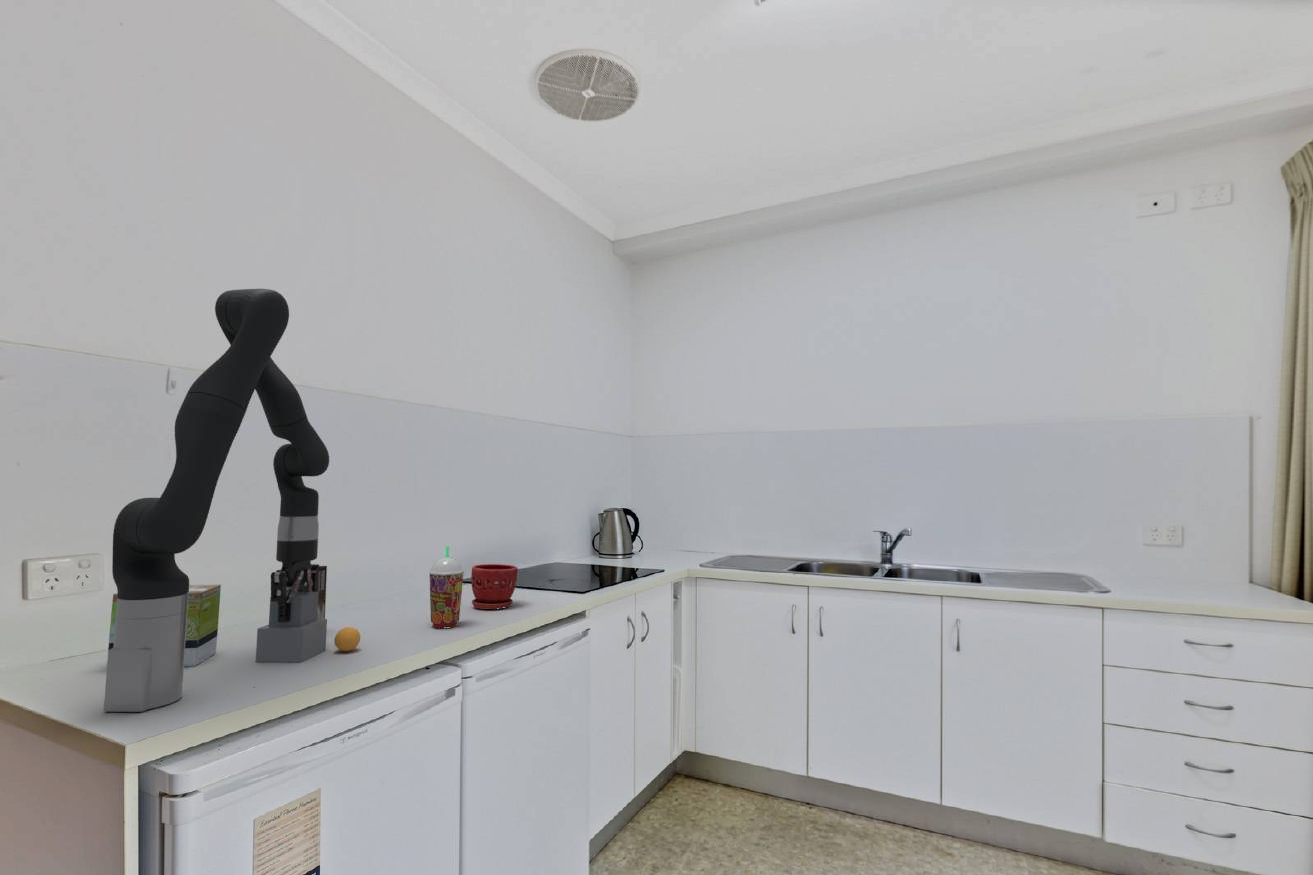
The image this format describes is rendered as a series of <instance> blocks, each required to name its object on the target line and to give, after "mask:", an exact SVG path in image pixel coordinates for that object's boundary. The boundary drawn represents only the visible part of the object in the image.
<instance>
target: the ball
mask: <svg viewBox="0 0 1313 875" xmlns="http://www.w3.org/2000/svg"><path fill="white" fill-rule="evenodd" d="M360 642H361V634H360V632H359V631H358V629H357V628H355V627H352V626H347V627H343V628H342V629H341V628H340V630H339V631H338V632H337V633H336V635H335V636H334V645H335V647H336V648H337V649H338V651H342V652H351V651H353V650H354V649H356V648H357V647H358V645H359V644H360Z"/></svg>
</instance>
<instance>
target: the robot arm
mask: <svg viewBox="0 0 1313 875" xmlns="http://www.w3.org/2000/svg"><path fill="white" fill-rule="evenodd" d="M214 306H215V307H214V312H215V317H216V320H217V322H218V325H219V327H220V328H221V331H222V333H223V335H224V336H225V338H226V339H227V341H228V342H229V344H230V346H229V347H228V349H227V350H226V351H225V352H224V353H223V354H222V355H221V356H220V357H219V358H218V359H216V360H215V362H213V363H211V365H210V366H209V367H208V368H207V369H205V370H204V371H203V372H202V373H201V374H200V375H199V376H198V377H197V378H196V380H194V382H193V383H192V384H191V386H189V389H188V390H187V391H186V392H187V393H186V395H185V396H184V399H183V401H182V404H181V406H180V408H179V410H178V413H177V415H176V418H175V421H174V422H175V423H174V442H175V444H174V445H175V456H176V457H175V463H174V468H173V471H172V473H171V475H170V478H169V479H168V482H167V484H166V486H165V487H164V490H163V492H162V494H161V495H160V497H143V498H137V499H135V500H132V501H131V502H129V503H128V504H126V505H125V506H124V507H123V508H122V509H121V510H120V512H119V513H118V515H117V516H116V519H115V522H114V526H113V534H112V563H111V564H112V569H111V570H112V571H111V572H112V578H113V582H114V584H115V585H116V589H117V593H116V594H117V608H116V620H115V634H114V647H113V648H112V649H110V650H109V651H108V650H107V663H106V674H105V675H106V676H105V689H104V690H105V691H104V702H103V712H108V713H109V712H114V713H115V712H116V713H117V712H127V713H128V712H129V713H130V712H132V713H136V712H139V713H142V712H146V711H147V710H150V709H155V708H161V707H163V706H167V705H169V704H172V703H174V702H177V701H178V700H180V699H181V698H182V697H183V684H184V683H183V682H184V668H185V667H184V656H185V640H186V625H187V610H188V595H189V585H190V578H189V576H188V575H187V574H186V573H185V572H184V571H183V570H182V569H180V567H179V566H178V565H177V562H176V558H175V557H176V556H175V555H176V554H180V553H184V552H186V551H187V550H189V549H190V548H191V547H192V546H194V545H195V544H196V543H197V541H198V540H199V539H200V536H202V533H203V531H204V529H205V526H206V523H207V520H208V516H209V513H210V509H211V505H212V501H213V498H214V495H215V491H216V487H217V485H218V482H219V479H220V476H221V473H222V470H223V467H224V466H225V463H226V460H227V458H228V455H229V452H230V450H231V448H232V444H233V442H234V440H235V438H236V437H237V434H238V432H239V430H240V428H241V424H242V423H243V420H244V418H245V416H246V413H247V410H248V407H249V404H250V401H251V399H252V397H253V394H254V392H256V395H257V396H258V399H259V400H260V403H261V407H262V408H263V411H264V412H263V413H264V415H265V417H266V420H267V423H268V426H269V428H270V430H271V433H272V434H273V436H275V437H277V438H279V439H281V440H282V439H283V440H286V441H287V442H289V443H286V444H282V445H281V446H279V448H278V449H277V450H276V452H275V453H274V457H273V462H272V463H273V465H272V466H273V472H274V475H275V479H276V484H277V488H278V491H279V494H280V508H279V519H278V526H277V533H276V534H277V537H276V538H277V539H276V553H275V554H276V555H275V559H276V561H277V562H281V563H282V564H281V568H280V570H281V571H280V572H276V571H272V572H271V573H270V597H271V601H272V602H276V603H278V622H289V621H290V617H291V600H292V597H293V594H294V593H296V592H297V591H298V592H316V591H317V586H318V576H319V566H320V564H319V563H318V564H317V563H312V562H311V561H315V560H317V558H318V553H319V552H318V549H319V531H320V530H319V524H320V523H319V503H320V502H319V501H320V500H319V498H320V496H319V492H318V491H317V490H316V489H314V488H312V487H307V486H306V485H305V482H304V480H303V477H318V476H321V475H323V474H324V473H325V472H326V471H327V470H328V468H329V465H330V455H329V451H328V448H327V446H326V444H325V443H324V441H322V438H321V437H320V435H319V434H318V433H317V430H315V428H314V426H313V425H312V424H311V423H310V421H309V419H308V416H307V412H306V410H305V407H304V403H303V401H302V397H301V395H300V394H299V392H298V390H297V388H296V386H295V385H294V384H293V382H292V381H291V380H290V379H289V378H288V376H287V375H286V374H285V373H284V372H283V371H282V370H281V369H280V367H279V366H278V365H277V364H276V363H275V361H274V360H273V359H272V355H273V353H274V351H275V349H276V348H277V346H278V344H279V343H280V341H281V339H282V337H283V335H284V334H285V332H286V329H287V327H288V324H289V318H290V308H289V305H288V302H287V300H286V299H285V297H284V295H283V294H281V293H280V292H278V291H276V290H275V289H270V288H246V289H245V288H243V289H233V290H232V289H231V290H226V291H224V292H222V293H221V294H220V295H219V296H218V297H217V299H216V302H215V305H214ZM312 581H313V583H312ZM312 584H313V586H312ZM286 586H287V587H286ZM277 590H278V591H279V593H278V596H277ZM286 593H288V595H287V597H286Z"/></svg>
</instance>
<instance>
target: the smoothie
mask: <svg viewBox="0 0 1313 875" xmlns="http://www.w3.org/2000/svg"><path fill="white" fill-rule="evenodd" d="M449 550H450V547H449V546H448V545H447V546H445V556H444V557H441V558H440V559H438V560H437V561H435V562H434V564H433V565H432V567H431V568H430V571H428V572H429V604H430V606H429V608H430V609H429V610H430V622H431V623H432V627H433V628H434V627H436V628H435V629H439V628H444V627H452V628H454V627H453V626H455V625H456V624H457V625H458V622H459V621H460V617H461V616H460V615H461V614H460V612H461V604H462V593H463V584H464V583H463V581H464V572H465V571H464V569H463V567H462V565H461V564H460V562H459V561H458V560H457V559H456V558H453V557H449V553H450V552H449ZM457 625H456V626H457ZM456 626H455V627H456Z"/></svg>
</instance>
